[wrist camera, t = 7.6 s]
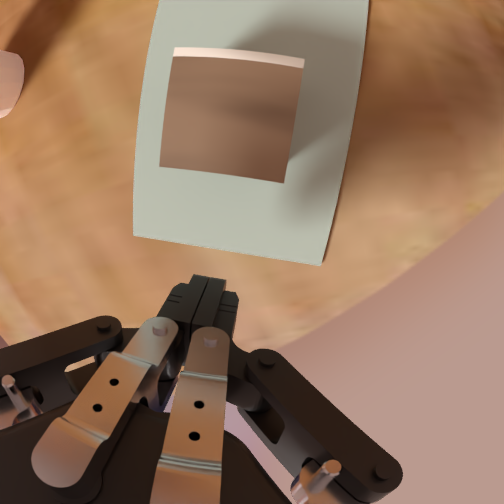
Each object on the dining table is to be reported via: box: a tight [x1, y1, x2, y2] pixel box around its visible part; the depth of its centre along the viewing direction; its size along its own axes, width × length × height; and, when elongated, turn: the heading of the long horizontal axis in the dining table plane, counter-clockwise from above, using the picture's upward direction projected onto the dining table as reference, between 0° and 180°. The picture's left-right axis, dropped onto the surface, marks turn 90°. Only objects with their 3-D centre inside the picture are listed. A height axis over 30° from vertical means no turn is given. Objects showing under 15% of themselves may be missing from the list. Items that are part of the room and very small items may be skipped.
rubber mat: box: [133, 0, 369, 266], centre depth 14 cm, size 18×12×1 cm, turn 172°
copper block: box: [159, 47, 305, 184], centre depth 12 cm, size 5×5×5 cm
